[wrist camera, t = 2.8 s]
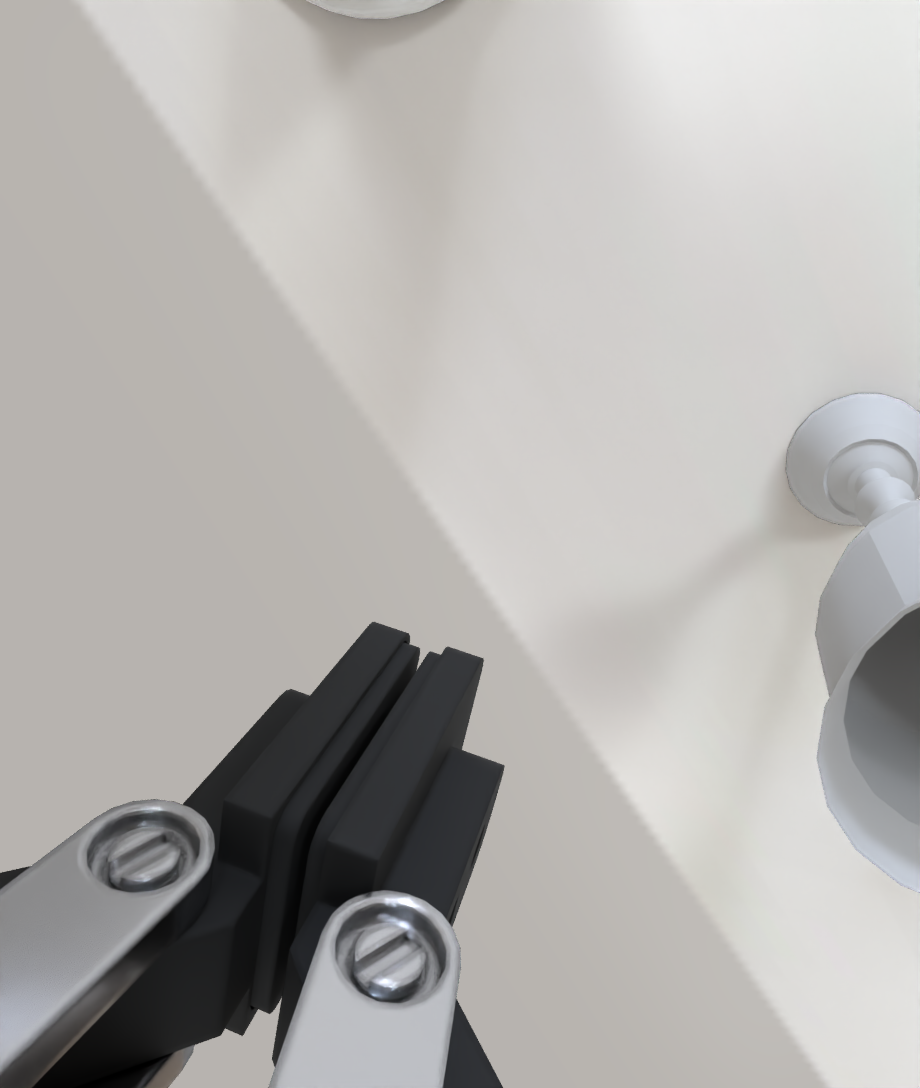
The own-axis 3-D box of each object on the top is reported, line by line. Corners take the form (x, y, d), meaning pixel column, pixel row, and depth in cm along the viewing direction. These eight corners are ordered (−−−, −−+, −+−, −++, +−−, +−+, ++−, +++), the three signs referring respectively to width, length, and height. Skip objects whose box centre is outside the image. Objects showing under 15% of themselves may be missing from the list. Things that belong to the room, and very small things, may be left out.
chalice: (925, 568, 31) (1161, 963, 15) (740, 533, 32) (772, 858, 16) (996, 377, 28) (1393, 611, 12) (789, 348, 29) (888, 520, 13)
